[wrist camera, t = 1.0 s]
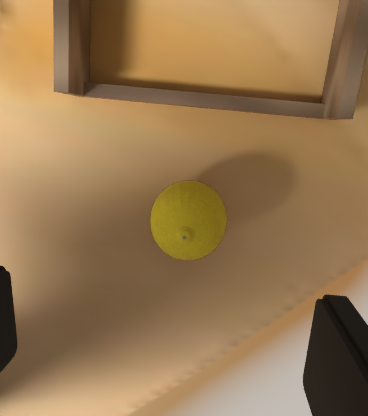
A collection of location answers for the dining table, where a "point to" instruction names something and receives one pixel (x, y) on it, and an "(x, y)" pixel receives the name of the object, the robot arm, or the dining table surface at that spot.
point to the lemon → (188, 220)
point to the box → (328, 109)
